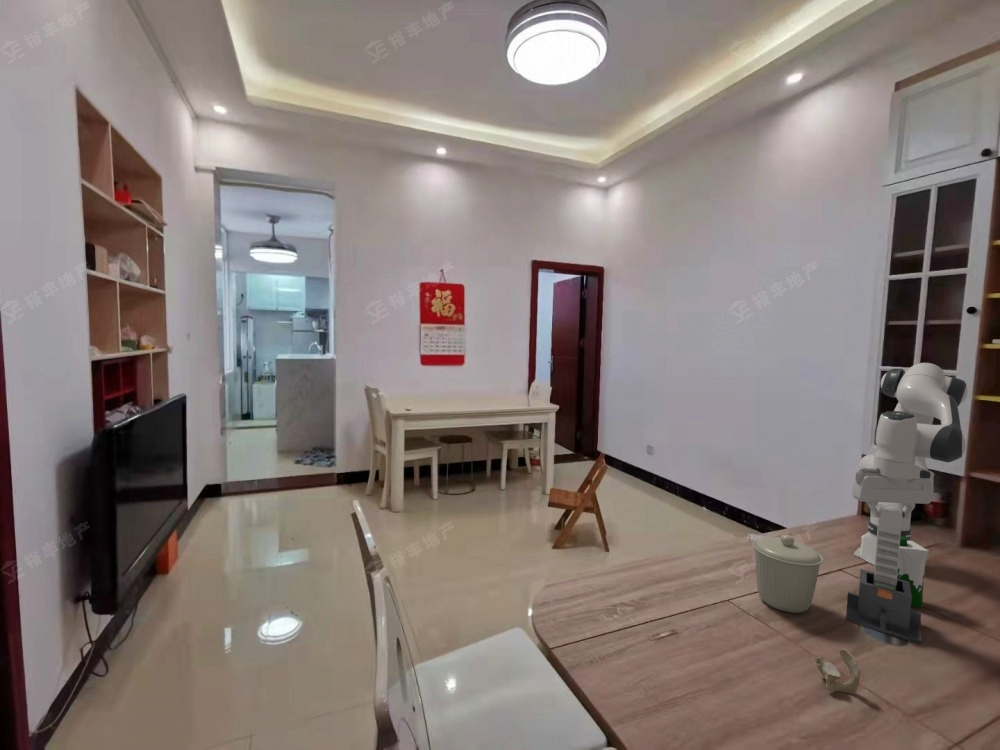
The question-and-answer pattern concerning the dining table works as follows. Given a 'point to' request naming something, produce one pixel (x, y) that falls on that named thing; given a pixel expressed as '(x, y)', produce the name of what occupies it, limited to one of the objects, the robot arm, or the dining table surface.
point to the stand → (884, 608)
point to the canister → (786, 572)
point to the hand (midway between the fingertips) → (889, 517)
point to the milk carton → (912, 568)
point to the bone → (832, 673)
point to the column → (887, 546)
